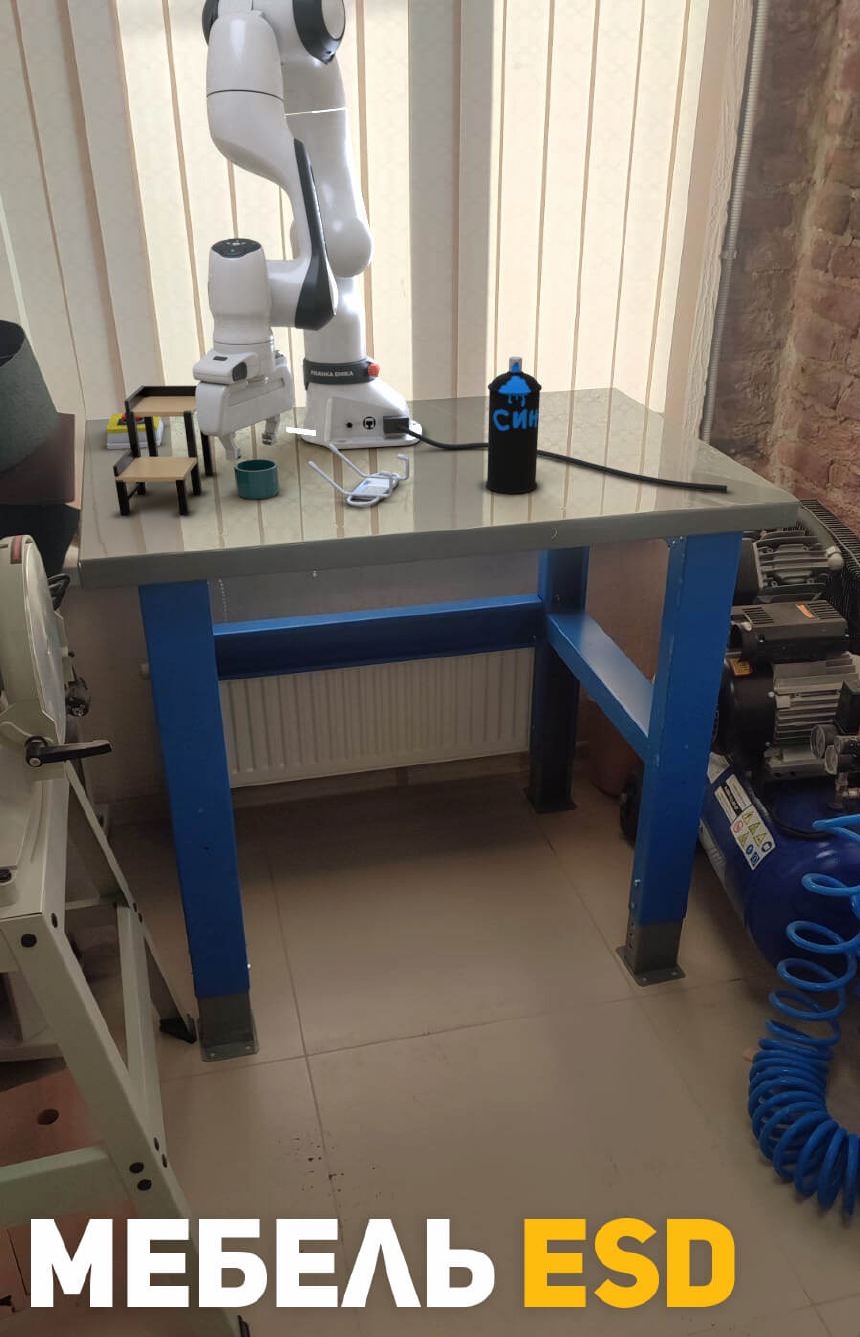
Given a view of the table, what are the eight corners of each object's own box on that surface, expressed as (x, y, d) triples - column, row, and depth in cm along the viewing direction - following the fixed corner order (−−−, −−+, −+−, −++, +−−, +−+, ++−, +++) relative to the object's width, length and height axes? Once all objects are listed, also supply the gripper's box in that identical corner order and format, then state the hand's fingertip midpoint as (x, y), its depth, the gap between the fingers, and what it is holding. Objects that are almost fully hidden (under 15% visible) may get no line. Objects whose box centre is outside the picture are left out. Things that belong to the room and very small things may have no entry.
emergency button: (102, 425, 177) (110, 404, 190) (106, 449, 179) (114, 427, 192) (156, 422, 179) (160, 402, 192) (159, 446, 181) (163, 425, 194)
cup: (282, 486, 160) (280, 458, 158) (276, 500, 155) (274, 471, 152) (241, 487, 160) (238, 459, 158) (233, 500, 155) (230, 471, 152)
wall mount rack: (386, 511, 150) (385, 473, 147) (302, 503, 153) (299, 466, 150) (415, 479, 163) (415, 444, 160) (337, 473, 166) (335, 438, 164)
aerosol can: (482, 479, 163) (484, 353, 153) (532, 477, 164) (537, 352, 154) (489, 495, 156) (492, 364, 146) (541, 493, 156) (547, 363, 147)
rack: (213, 474, 166) (203, 385, 159) (187, 515, 149) (175, 417, 142) (154, 474, 166) (141, 385, 159) (120, 516, 149) (104, 418, 142)
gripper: (267, 346, 157) (273, 433, 163) (184, 370, 141) (194, 465, 147) (301, 349, 154) (306, 438, 161) (220, 374, 138) (229, 472, 145)
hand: (252, 451), depth 154 cm, fingers open, 8 cm apart
